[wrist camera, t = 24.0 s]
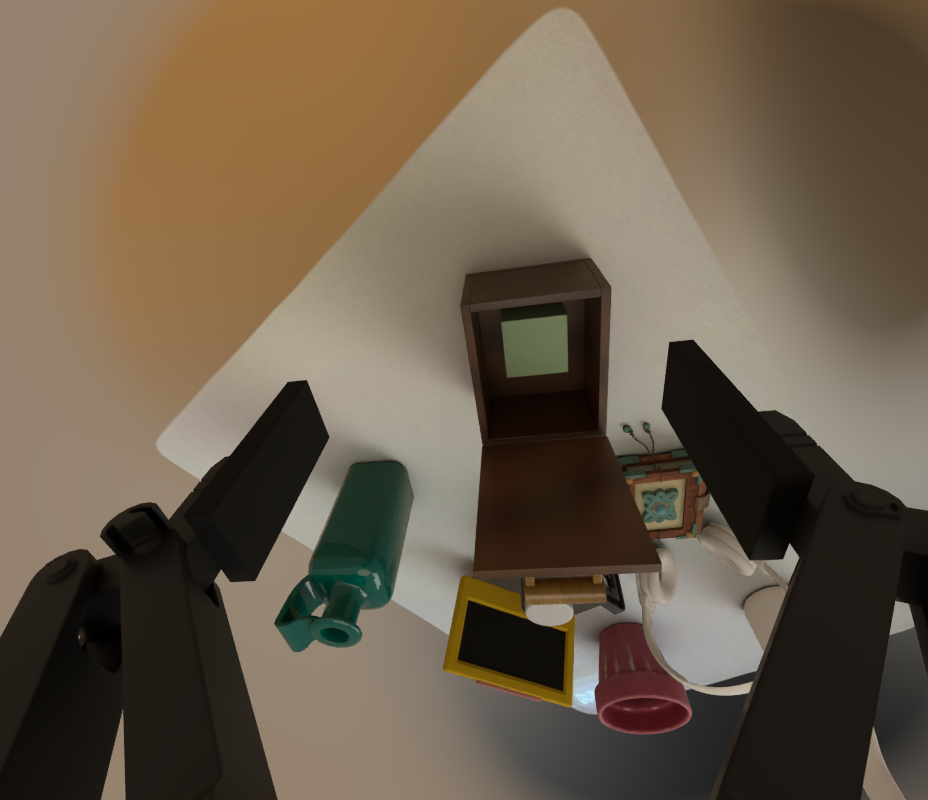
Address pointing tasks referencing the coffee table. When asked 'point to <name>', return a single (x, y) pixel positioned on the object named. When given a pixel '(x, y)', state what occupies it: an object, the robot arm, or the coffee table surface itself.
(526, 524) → the bin lid
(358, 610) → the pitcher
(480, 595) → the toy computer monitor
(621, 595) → the light fixture
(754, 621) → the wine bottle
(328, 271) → the coffee table surface
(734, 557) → the headphones
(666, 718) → the flower pot
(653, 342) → the coffee table surface
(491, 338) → the bin
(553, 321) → the block
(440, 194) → the coffee table surface
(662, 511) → the decorative book
